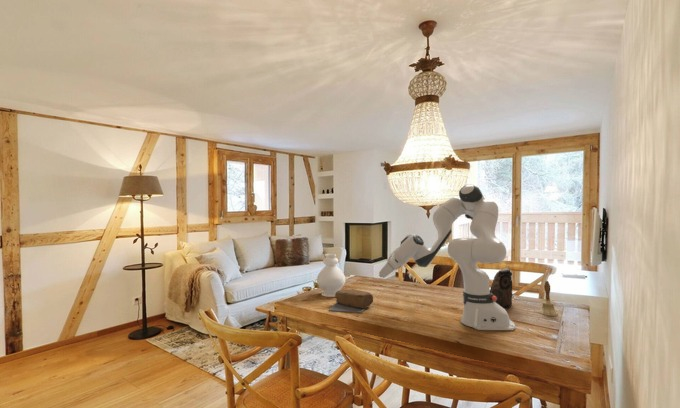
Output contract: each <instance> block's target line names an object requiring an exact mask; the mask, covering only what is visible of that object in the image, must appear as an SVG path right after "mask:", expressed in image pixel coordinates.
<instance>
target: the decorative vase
mask: <svg viewBox="0 0 680 408" xmlns="http://www.w3.org/2000/svg"><path fill="white" fill-rule="evenodd" d="M322 262H323V264H324V265H325V266H324V267H323V268H322V269H321V270H320V272H319V273H318V275H317V277H316V284H317V285H318V286H319V288H320V289H321V290H322V291H323V292H322V293H321V296H322V297H326V298H334V297H335V293H336V292H337V291H339V290H342V288H343V286H344V285H345V284H346V277H345V274H344V272H343V271H342V269H340V267H338V265H337V264H338V263H339V259H338V258H337V254H336V253H326V254H325V253H324V258H323V261H322ZM335 298H336V297H335Z"/></svg>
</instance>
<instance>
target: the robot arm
mask: <svg viewBox="0 0 680 408" xmlns="http://www.w3.org/2000/svg"><path fill="white" fill-rule="evenodd" d="M458 196H459V197H458ZM458 196H453V197H450V198H449V199H447V200H445V202H443V203H442V204H441V205H440V206H439V207H437V209H436V210H435V211H434V213H433V215H432V222H433V225H434V227H435V229H436V231H437V236H438V238H437V240H436V241H435V242H434V244H433V245H432V246H431V248H429V247H427V246H426V245H425V242H424V239H423V238H422V237H421V236H420V235H418V234H415V233H414V234H408V235H406V236H405V237H404V238H403V239H402V240H401V241H400V245H399V247H397V248H396V249H395V250H393V251H392V252H391V253H390V254H389V256H388V259H387V262H386V263H385V264H384V266H383V267H382V268H381V269H380V270H379V272H378V274H379V275H378V276H379V277H380V278H382V279H384V278H386V277H388V276H389V275H391V274H392V273H393V272H395V271H397V270H398V269H401V268H403V267H404V266H405V265H406V264H408V262H409V261H410V259H412V260H413V261H414V262H415V264H416V265H417V266H418V267H420V268H426V267H428V266H430V265H431V264H432V262H433V261H434V258H435V257H436V256H437V254H438V252H439V251H440V250H441V249H442V247H443V246H444V244H445V243H446V241H448V239H449V237H450V236H451V234H452V225H453V224H454V222H455V221H457V219H458V218H459V217H461V216H463V215H464V216H465V218H466V219H470V220H471V223H470V226H469V229H470V230H469V231H470V233H471V235H473V236H474V237H475V238H472V237H470V238H468V237H467V238H466V237H459V238H458V237H457V238H454V239H451V240H450V242H449V243H448V244H447V254H448V256H449V257H450V258H451V259H452V260H453V261H454V262H455V263H456V264H457V265H458V267H459V269H460V271H461V275H462V279H463V291H462V303H463V310H462V311H463V312H462V314H461V315H462V316H461V320H460V322H461V324H463V325H464V326H467V327H471V328H473V329H475V330H478V331H514V330H515V329H516V325H515V322H514V321H512V320H511V319H510V316H509V314H508V312H507V310H506V309H504V308H502V307H501V306H500V305H499V304H497V303H496V302H495V301H496V300H497V298H496V296H494V295H493V294H492V293H490V289H491V285H490V277H489V275H488V274H487V273H486V271H484V270H482V269H481V268H479V266H478V264H477V263H480V264H489V265H490V264H501V263H502V262H503V261H504V260H505V259H506V256H507V248H506V246H505V244H504V243H503V242H502V241H501V240H500V239H499V238H497V236H496V227H497V223H498V218H499V205H498V204H497V203H496V202H495V201H493V200H490V199H485V197H484V195H483V193H482V191H481V190H480V188H479V187H478V185H476V184H473V183H471V184H469V183H468V184H466V185H464V186H462V187H461V188H460V189H459V191H458Z"/></svg>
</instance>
